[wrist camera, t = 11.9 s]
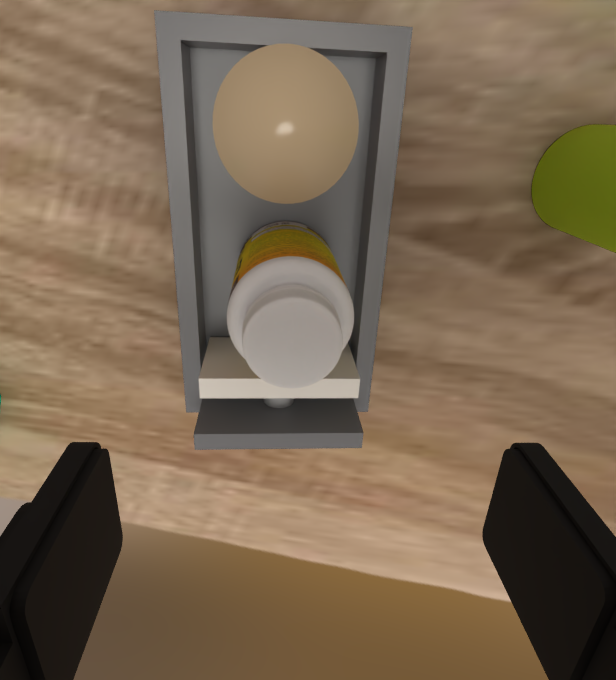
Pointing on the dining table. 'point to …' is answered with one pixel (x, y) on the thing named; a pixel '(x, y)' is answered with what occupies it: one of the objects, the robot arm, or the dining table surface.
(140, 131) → the dining table surface
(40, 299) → the dining table surface
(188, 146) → the pusher lane
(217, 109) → the beige round container
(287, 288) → the supplement bottle
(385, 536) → the dining table surface
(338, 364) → the pusher paddle
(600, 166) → the soap dispenser
